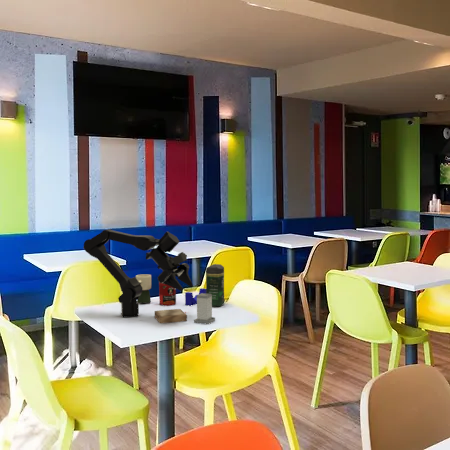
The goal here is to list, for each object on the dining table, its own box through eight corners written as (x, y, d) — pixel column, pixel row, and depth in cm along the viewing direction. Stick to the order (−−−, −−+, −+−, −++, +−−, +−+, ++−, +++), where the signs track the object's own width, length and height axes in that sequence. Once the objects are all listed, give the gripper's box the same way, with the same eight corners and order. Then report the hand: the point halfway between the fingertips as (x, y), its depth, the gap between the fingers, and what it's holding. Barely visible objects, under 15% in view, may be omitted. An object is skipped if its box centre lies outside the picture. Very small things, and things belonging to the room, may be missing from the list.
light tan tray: (159, 323, 216) (159, 316, 215) (154, 317, 226) (154, 310, 226) (186, 320, 219) (186, 314, 219) (180, 314, 229) (180, 308, 229)
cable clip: (199, 300, 258) (199, 288, 258) (206, 301, 256) (206, 289, 255) (182, 305, 249) (182, 292, 248) (190, 306, 246) (190, 293, 246)
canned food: (163, 306, 245) (162, 282, 244) (156, 303, 252) (156, 279, 251) (178, 304, 249) (178, 281, 248) (172, 301, 256) (171, 278, 255)
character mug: (141, 300, 259) (140, 273, 258) (155, 300, 258) (154, 273, 257) (132, 305, 249) (131, 277, 248) (146, 305, 247) (146, 277, 246)
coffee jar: (221, 307, 242) (220, 266, 240) (204, 306, 244) (203, 266, 242) (226, 303, 251) (225, 263, 250) (209, 302, 253) (209, 262, 252)
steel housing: (193, 322, 216) (193, 295, 215) (200, 319, 222) (200, 292, 221) (208, 324, 213) (208, 296, 213) (215, 320, 220) (214, 293, 219)
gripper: (163, 249, 212) (189, 278, 208) (184, 244, 229) (209, 271, 226) (146, 268, 215) (172, 297, 212) (168, 261, 232) (192, 288, 229)
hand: (187, 288), depth 219 cm, fingers open, 9 cm apart
